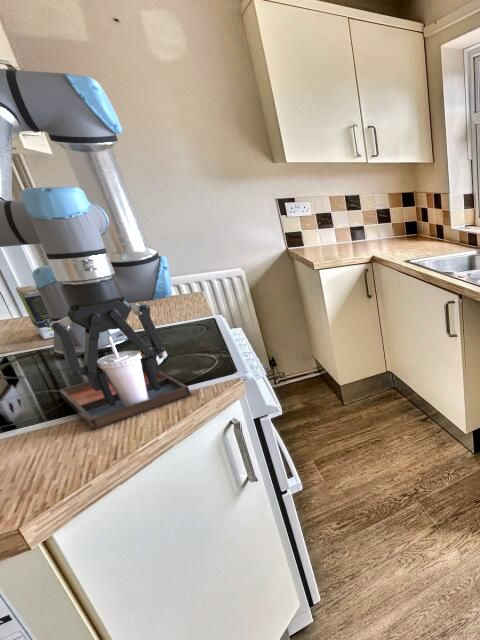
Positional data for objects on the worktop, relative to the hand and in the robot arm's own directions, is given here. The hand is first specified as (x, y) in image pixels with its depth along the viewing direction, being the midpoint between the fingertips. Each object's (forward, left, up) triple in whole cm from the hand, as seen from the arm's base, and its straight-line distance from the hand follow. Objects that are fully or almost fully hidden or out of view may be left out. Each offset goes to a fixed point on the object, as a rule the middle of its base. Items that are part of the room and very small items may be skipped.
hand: (134, 395), depth 82 cm
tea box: (-77, +6, -2) cm, 78 cm away
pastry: (-24, +8, -2) cm, 26 cm away
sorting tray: (-6, 0, -2) cm, 7 cm away
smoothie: (0, 0, -2) cm, 2 cm away
